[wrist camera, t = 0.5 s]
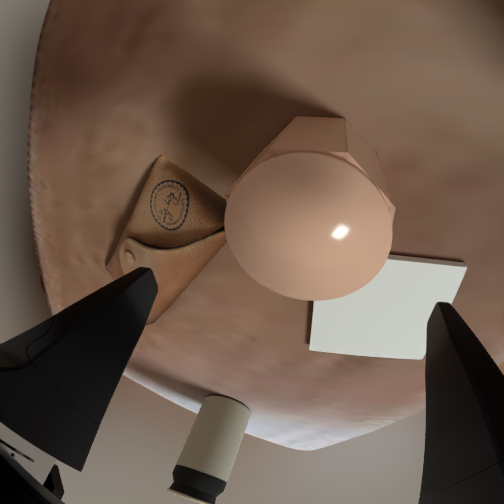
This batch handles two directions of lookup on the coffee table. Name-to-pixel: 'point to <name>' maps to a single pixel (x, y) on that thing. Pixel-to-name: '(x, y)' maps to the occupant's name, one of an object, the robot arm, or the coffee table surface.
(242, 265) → the terracotta cup
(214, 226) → the sunglasses case
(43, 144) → the coffee table surface
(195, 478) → the travel mug
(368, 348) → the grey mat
